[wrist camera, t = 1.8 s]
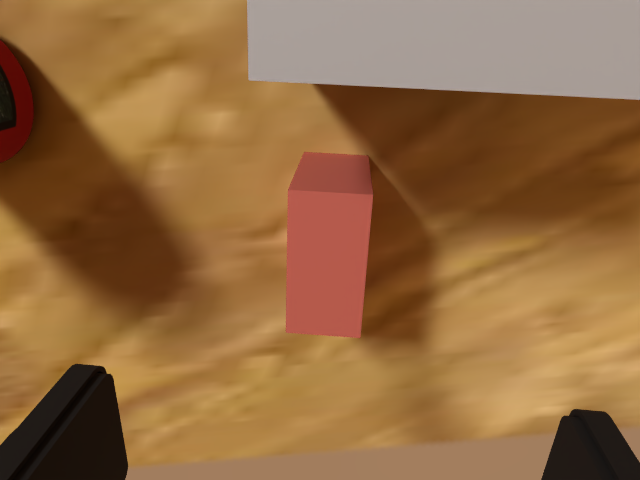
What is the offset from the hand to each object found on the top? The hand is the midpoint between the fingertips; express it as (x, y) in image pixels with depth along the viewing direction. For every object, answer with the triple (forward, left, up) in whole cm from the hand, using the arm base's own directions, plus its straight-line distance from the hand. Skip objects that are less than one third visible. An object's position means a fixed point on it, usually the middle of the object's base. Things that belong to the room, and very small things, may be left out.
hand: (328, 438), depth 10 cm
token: (0, 0, -15) cm, 15 cm away
